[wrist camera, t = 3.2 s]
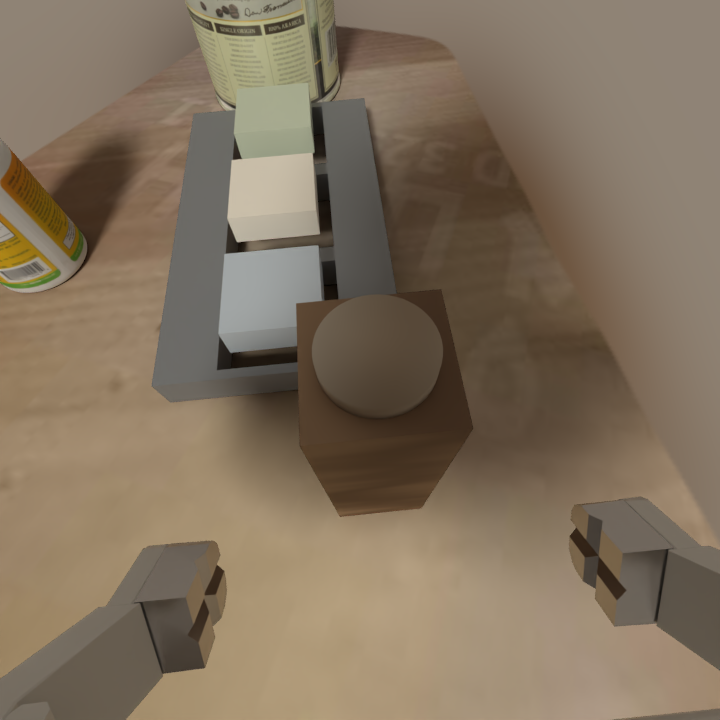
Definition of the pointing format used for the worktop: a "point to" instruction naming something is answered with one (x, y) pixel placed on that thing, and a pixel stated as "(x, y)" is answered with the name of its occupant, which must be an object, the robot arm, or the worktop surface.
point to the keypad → (215, 238)
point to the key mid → (273, 197)
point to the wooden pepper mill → (379, 398)
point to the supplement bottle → (33, 232)
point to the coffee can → (267, 45)
